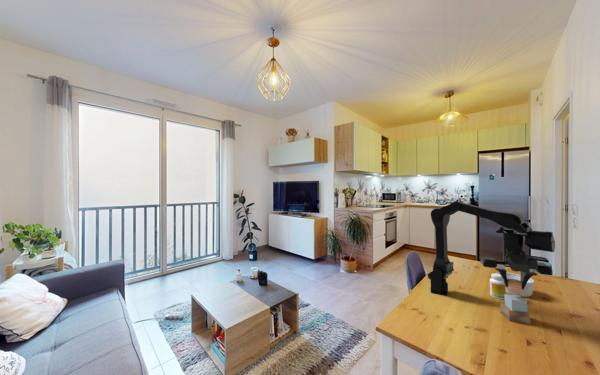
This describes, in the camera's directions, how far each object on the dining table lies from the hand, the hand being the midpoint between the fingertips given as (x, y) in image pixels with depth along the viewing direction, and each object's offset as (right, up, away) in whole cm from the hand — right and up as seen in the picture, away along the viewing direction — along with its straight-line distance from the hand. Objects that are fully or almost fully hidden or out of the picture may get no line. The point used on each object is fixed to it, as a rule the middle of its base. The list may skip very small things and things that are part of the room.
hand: (514, 288), depth 83 cm
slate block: (0, -7, 0) cm, 7 cm away
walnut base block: (0, -12, 0) cm, 12 cm away
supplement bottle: (+9, -12, +17) cm, 22 cm away
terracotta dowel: (0, -1, 0) cm, 1 cm away
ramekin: (+21, -12, +21) cm, 32 cm away
